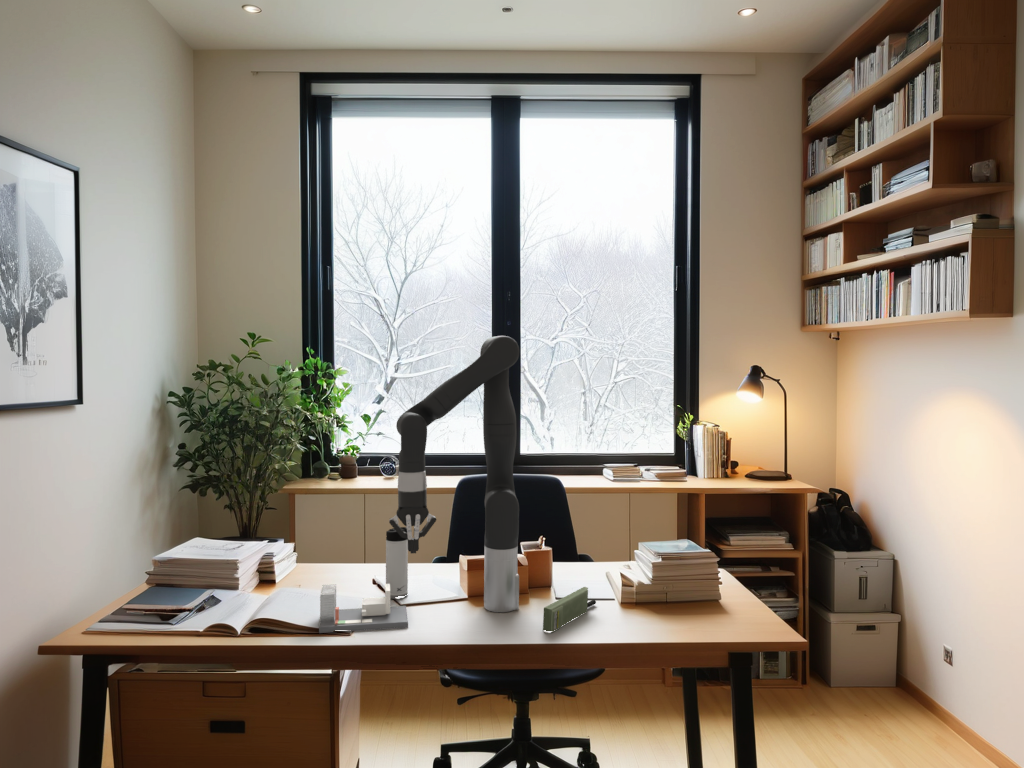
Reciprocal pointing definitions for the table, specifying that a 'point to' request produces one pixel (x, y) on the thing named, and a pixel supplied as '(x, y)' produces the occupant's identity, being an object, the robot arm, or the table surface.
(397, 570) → the travel mug
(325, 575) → the table surface
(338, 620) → the drag pointer
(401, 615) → the gauge base
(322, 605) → the grey block
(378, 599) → the white block
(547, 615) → the handheld radio
